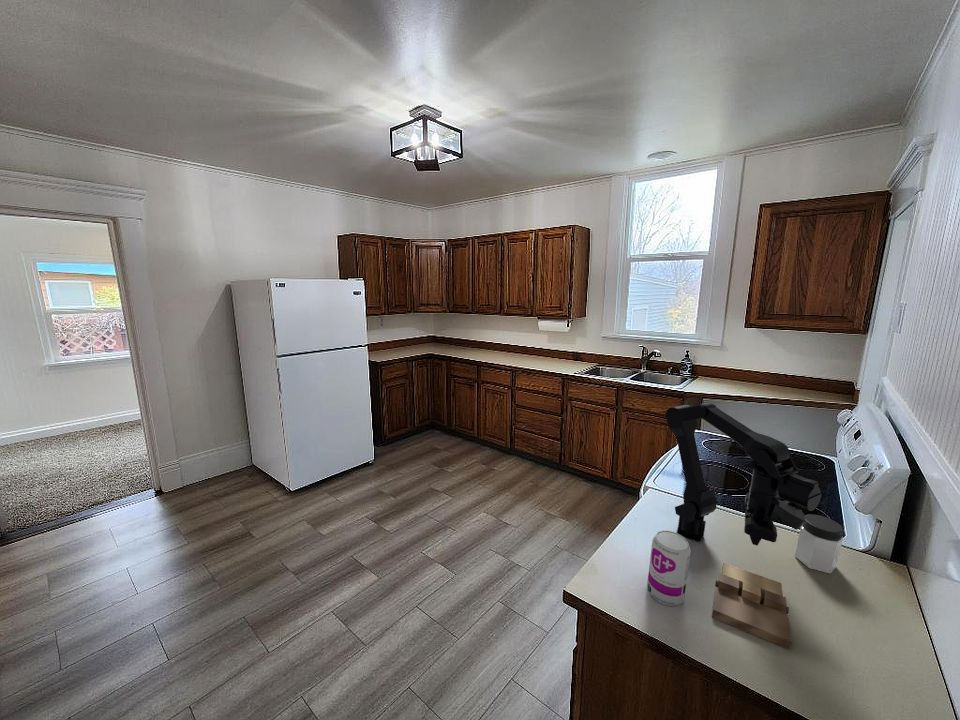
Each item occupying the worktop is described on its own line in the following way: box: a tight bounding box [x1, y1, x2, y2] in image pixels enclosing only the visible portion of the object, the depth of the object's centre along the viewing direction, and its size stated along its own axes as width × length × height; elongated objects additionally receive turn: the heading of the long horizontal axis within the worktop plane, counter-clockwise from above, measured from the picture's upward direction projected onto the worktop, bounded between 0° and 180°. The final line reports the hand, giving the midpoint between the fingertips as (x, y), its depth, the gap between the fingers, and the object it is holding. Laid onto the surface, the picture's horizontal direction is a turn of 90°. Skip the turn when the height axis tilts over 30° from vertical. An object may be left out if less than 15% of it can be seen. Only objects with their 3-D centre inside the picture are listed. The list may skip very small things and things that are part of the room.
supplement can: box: [646, 530, 692, 607], centre depth 93 cm, size 8×8×15 cm
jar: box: [794, 513, 845, 574], centre depth 105 cm, size 9×8×12 cm
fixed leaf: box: [711, 573, 792, 650], centre depth 89 cm, size 14×11×4 cm
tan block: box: [720, 562, 784, 605], centre depth 94 cm, size 12×8×4 cm, turn 56°
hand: (754, 544), depth 101 cm, fingers closed
